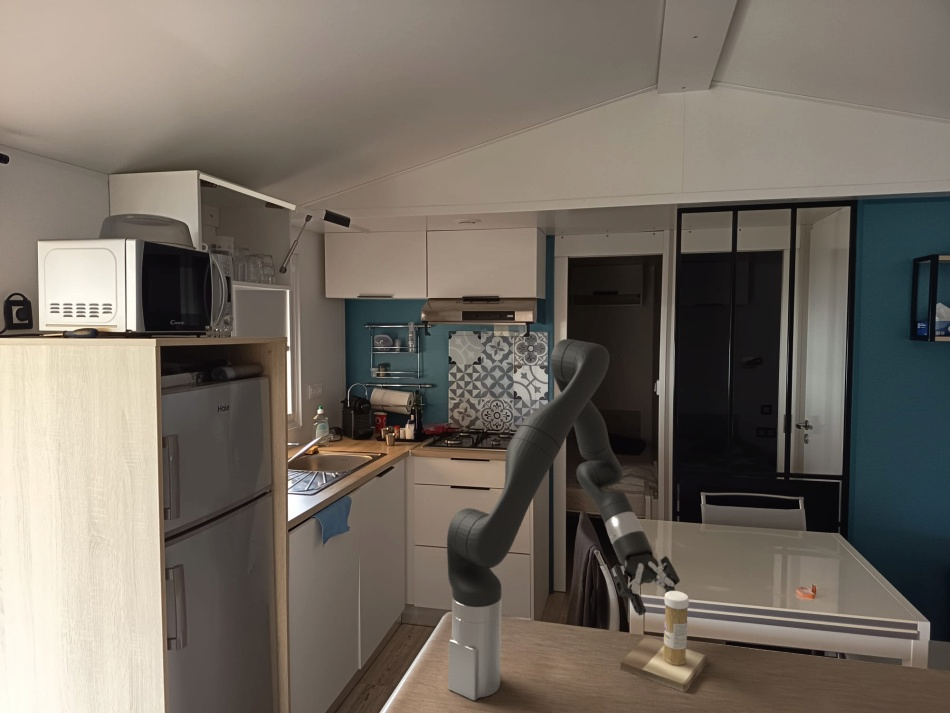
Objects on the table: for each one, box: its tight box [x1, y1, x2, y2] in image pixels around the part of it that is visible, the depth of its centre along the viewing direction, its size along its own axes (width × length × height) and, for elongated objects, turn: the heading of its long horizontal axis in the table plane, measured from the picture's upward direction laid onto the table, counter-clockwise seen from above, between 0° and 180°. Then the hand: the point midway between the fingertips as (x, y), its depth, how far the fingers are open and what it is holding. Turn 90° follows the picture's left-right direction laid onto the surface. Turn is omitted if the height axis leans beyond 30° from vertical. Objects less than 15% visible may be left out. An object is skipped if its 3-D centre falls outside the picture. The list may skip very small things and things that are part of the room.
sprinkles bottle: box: [663, 590, 690, 665], centre depth 131 cm, size 5×5×13 cm
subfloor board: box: [620, 635, 708, 693], centre depth 132 cm, size 13×13×2 cm
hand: (659, 610), depth 135 cm, fingers open, 8 cm apart
